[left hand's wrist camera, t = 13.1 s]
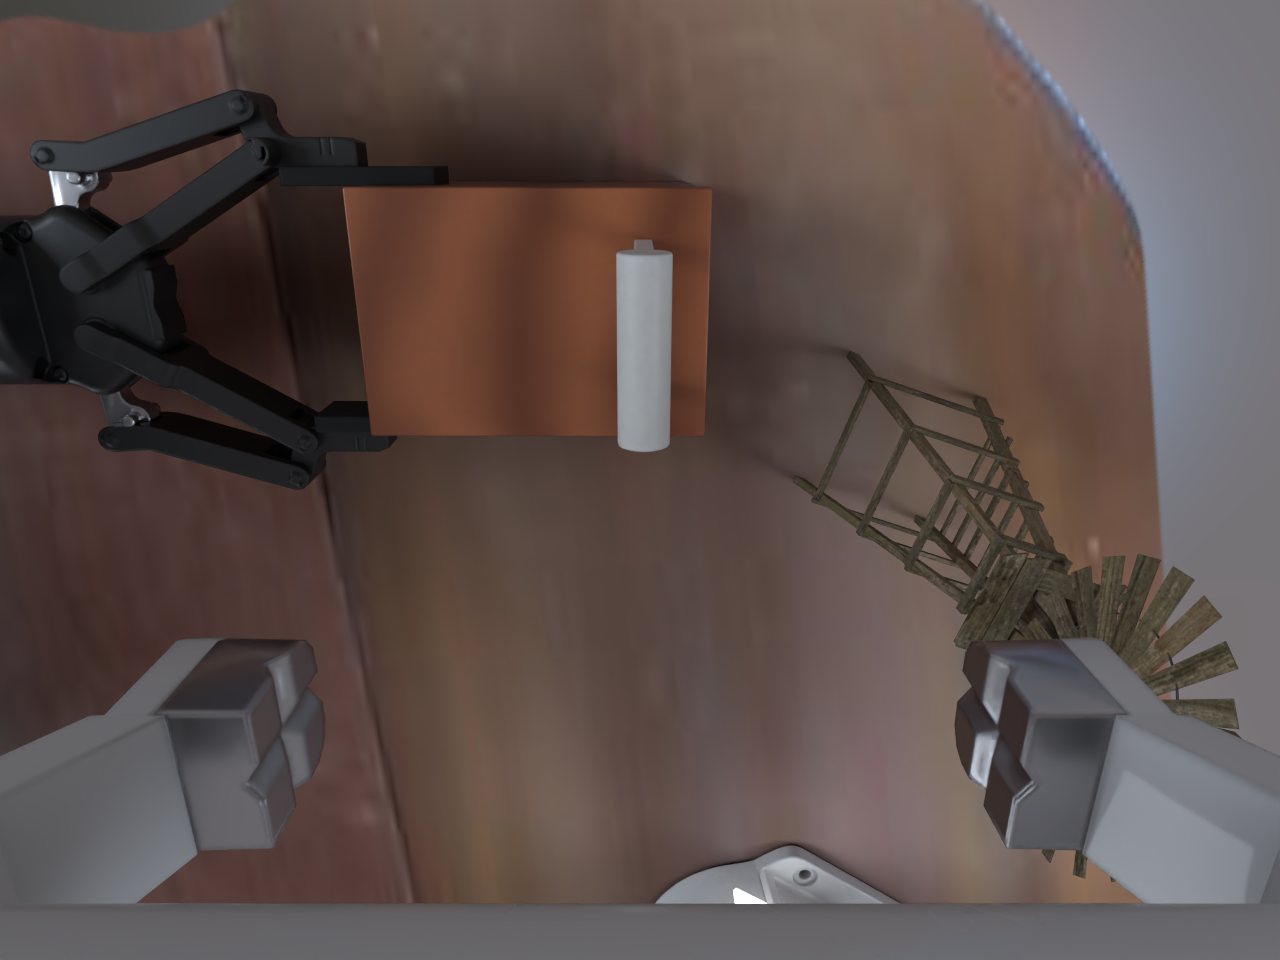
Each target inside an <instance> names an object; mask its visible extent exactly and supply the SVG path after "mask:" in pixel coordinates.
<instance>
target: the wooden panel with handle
mask: <svg viewBox="0 0 1280 960" xmlns="http://www.w3.org/2000/svg"><path fill="white" fill-rule="evenodd" d="M712 192H713V190H712V188H709V187H463V186H351V187H344V188H343V198H344V206H345V215H346V223H347V232H348V240H349V249H350V257H351V266H352V274H353V283H354V291H355V300H356V308H357V317H358V325H359V334H360V342H361V351H362V359H363V368H364V376H365V385H366V393H367V402H368V410H369V419H370V427H371V434H372V435H373V436H618V444H619V446H620V447H621V448H623V449H626V450H630V451H636V452H652V451H658V450H662V449H664V448H666V447H668V445H669V443H670V436H704V435H705V416H706V384H707V352H708V320H709V288H710V256H711V224H712Z"/></svg>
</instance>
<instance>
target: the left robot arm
mask: <svg viewBox="0 0 1280 960" xmlns="http://www.w3.org/2000/svg"><path fill="white" fill-rule="evenodd" d="M317 671H318V670H317V665H316V660H315V655H314V650H313V647H312V646H311V645H310V644H309V643H308V642H307V641H306V640H282V639H232V638H228V639H223V638H187V639H182V640H177V641H176V642H175V643H174V644H173V645H172V646H171V647H170V648H169V649H168V650H167V651H166V652H165V653H164V654H163V655H162V656H161V657H160V659H159V660H158V661H157V662H156V663H155V664H154V665H153V666H152V667H151V668H150V669H149V670H148V671H147V672H146V673H145V674H144V675H143V676H142V677H141V678H140V679H139V680H138V681H137V682H136V683H135V684H134V685H133V686H132V687H131V688H130V689H129V690H128V691H127V692H126V693H125V694H124V695H123V696H122V697H121V698H120V699H119V700H118V701H117V702H116V704H115V705H114V706H113V707H112V708H111V709H110V710H109V711H108V712H107V713H106V714H105V715H90V716H88V717H86V718H83V719H81V720H79V721H77V722H75V723H72V724H70V725H68V726H66V727H63V728H61V729H59V730H57V731H55V732H52V733H50V734H48V735H46V736H43V737H41V738H39V739H37V740H35V741H32V742H30V743H28V744H26V745H24V746H21V747H19V748H17V749H15V750H12V751H10V752H8V753H6V754H4V755H1V756H0V960H1280V756H1278V755H1276V754H1274V753H1272V752H1270V751H1267V750H1265V749H1263V748H1261V747H1258V746H1256V745H1254V744H1252V743H1250V742H1247V741H1245V740H1243V739H1241V738H1239V737H1236V736H1234V735H1232V734H1230V733H1228V732H1225V731H1223V730H1221V729H1219V728H1217V727H1214V726H1212V725H1210V724H1208V723H1205V722H1203V721H1201V720H1199V719H1197V718H1194V717H1192V716H1190V715H1175V714H1174V713H1173V712H1172V711H1171V710H1170V709H1169V708H1168V707H1167V705H1166V704H1165V703H1164V702H1163V701H1162V700H1161V699H1160V698H1159V697H1158V696H1157V695H1156V694H1155V693H1154V692H1153V691H1152V690H1151V689H1150V688H1149V687H1148V686H1147V685H1146V684H1145V683H1144V682H1143V681H1142V680H1141V679H1140V678H1139V677H1138V676H1137V675H1136V674H1135V673H1134V672H1133V671H1132V670H1131V669H1130V668H1129V667H1128V665H1127V664H1126V663H1125V662H1124V661H1123V660H1122V659H1121V658H1120V657H1119V656H1118V655H1117V654H1116V653H1115V652H1114V651H1113V650H1112V649H1111V648H1110V647H1109V646H1108V645H1107V644H1106V643H1105V642H1104V641H1101V640H1099V639H1096V638H1068V639H1038V640H998V641H971V642H970V645H969V647H968V649H967V651H966V653H965V659H964V665H963V670H962V671H963V673H964V674H965V676H966V677H967V679H968V681H969V682H970V684H971V686H972V687H971V688H970V689H969V690H968V691H967V692H966V693H965V694H964V695H963V696H962V697H961V698H960V699H959V701H958V702H957V709H956V717H955V735H956V746H957V750H958V754H959V757H960V760H961V764H962V766H963V767H964V769H965V771H966V773H967V775H968V777H969V779H970V780H972V781H973V782H975V783H976V784H978V785H979V786H981V787H982V788H984V789H985V790H986V794H985V800H984V807H985V809H986V811H987V813H988V815H989V817H990V818H991V820H992V822H993V824H994V826H995V828H996V830H997V831H998V833H999V835H1000V837H1001V839H1002V841H1003V842H1004V844H1005V846H1006V848H1013V849H1049V850H1083V852H1082V854H1083V855H1084V856H1086V857H1087V858H1088V859H1089V860H1091V861H1092V862H1093V863H1094V864H1096V865H1097V866H1098V867H1099V868H1101V869H1102V870H1103V871H1104V872H1106V873H1107V874H1108V875H1109V876H1111V877H1112V878H1113V879H1115V880H1116V881H1117V882H1118V883H1120V884H1121V885H1122V886H1123V887H1125V888H1126V889H1127V890H1128V891H1130V892H1131V893H1132V894H1133V895H1135V896H1136V897H1137V898H1139V899H1140V900H1141V901H1142V902H1144V903H929V904H901V903H899V902H897V901H895V900H894V899H892V898H890V897H888V896H886V895H885V894H883V893H881V892H879V891H877V890H876V889H874V888H872V887H870V886H869V885H867V884H865V883H863V882H861V881H860V880H858V879H856V878H854V877H853V876H851V875H849V874H847V873H845V872H844V871H842V870H840V869H838V868H837V867H835V866H833V865H831V864H829V863H828V862H826V861H824V860H822V859H821V858H819V857H817V856H815V855H813V854H812V853H810V852H808V851H806V850H804V849H803V848H801V847H798V846H793V845H791V846H784V847H781V848H778V849H775V850H773V851H771V852H769V853H767V854H765V855H763V856H761V857H759V858H757V859H755V860H752V861H748V862H743V863H737V864H730V865H723V866H718V867H714V868H710V869H707V870H704V871H701V872H698V873H696V874H693V875H691V876H689V877H687V878H685V879H683V880H682V881H680V882H678V883H677V884H675V885H674V886H672V887H671V888H670V889H669V890H667V891H666V892H665V893H664V894H663V895H662V896H661V897H660V898H659V899H658V900H657V901H656V903H655V904H405V903H404V904H403V903H137V902H138V901H139V900H140V899H142V898H143V897H144V896H146V895H147V894H148V893H149V892H151V891H152V890H153V889H154V888H156V887H157V886H158V885H159V884H161V883H162V882H163V881H164V880H166V879H167V878H168V877H170V876H171V875H172V874H173V873H175V872H176V871H177V870H178V869H180V868H181V867H182V866H183V865H185V864H186V863H187V862H189V861H190V860H191V859H192V858H194V857H195V856H196V855H197V854H198V852H197V850H230V849H265V848H274V846H275V844H276V843H277V841H278V839H279V837H280V835H281V833H282V831H283V830H284V828H285V826H286V824H287V822H288V820H289V819H290V817H291V815H292V813H293V811H294V809H295V807H296V800H295V794H294V790H295V789H296V788H298V787H299V786H301V785H302V784H304V783H305V782H307V781H308V780H310V779H311V777H312V775H313V773H314V771H315V769H316V767H317V765H318V763H319V761H320V757H321V753H322V748H323V744H324V739H325V715H324V708H323V702H322V701H321V699H320V698H319V697H318V696H317V695H316V694H315V693H314V692H313V691H312V690H311V689H310V688H309V687H308V686H309V684H310V682H311V681H312V679H313V677H314V676H315V674H316V673H317ZM802 870H805V871H802Z"/></svg>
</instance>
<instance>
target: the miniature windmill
mask: <svg viewBox="0 0 1280 960" xmlns="http://www.w3.org/2000/svg"><path fill="white" fill-rule="evenodd" d="M847 358H848V360H849V361H850V362H851V364H852V365H853V366H854V367H855V369H856V370H857V371H858V373H859V374H860V375H861V376H862V378H863V379H864V380H865V384H864V386H863V388H862V391H861V393H860V395H859V397H858V400H857V402H856V404H855V406H854V409H853V411H852V413H851V415H850V418H849V420H848V422H847V424H846V426H845V429H844V431H843V433H842V435H841V438H840V440H839V442H838V444H837V447H836V449H835V451H834V453H833V456H832V458H831V460H830V462H829V465H828V467H827V469H826V471H825V474H824V476H823V478H822V480H821V483H820V485H819V487H818V488H817V487H815V486H814V485H813V484H811V483H810V482H808V481H807V480H805V479H804V478H801V477H798V476H795V479H794V481H793V482H794V483H795V484H797V485H798V486H799V487H801V488H802V489H803V490H805V491H806V492H808V493H809V494H810V495H812V496H813V497H814V498H812V500H811V502H812V503H816V504H819V505H822V506H825V507H828V508H829V509H831V510H832V511H834V512H835V513H836V514H838V515H839V516H840V517H842V518H843V519H844V520H846V521H847V522H849V523H850V524H851V525H853V526H854V527H855V528H857V531H856V533H857V534H858V535H859V536H862V537H863V538H866V539H869V540H873V541H875V542H876V543H877V544H879V545H880V546H881V547H883V548H884V549H886V550H887V551H888V552H890V553H891V554H892V555H894V556H895V557H896V558H898V559H899V560H901V561H902V562H903V563H904V564H905V567H904V569H905V570H906V571H907V572H910V573H913V574H916V575H920V576H922V577H924V578H925V579H927V580H928V581H929V582H931V583H932V584H933V585H935V586H936V587H938V588H939V589H940V590H942V591H943V592H944V593H946V594H947V595H948V596H950V597H951V598H953V599H954V600H955V601H957V602H958V603H959V604H958V605H957V607H956V609H957V610H958V611H959V612H960V613H961V614H967V615H968V616H967V618H966V619H965V621H964V623H963V625H962V627H961V629H960V630H959V632H958V634H957V636H956V638H955V640H954V643H956V644H955V645H956V646H957V647H960V648H963V649H966V650H967V649H968V647H969V645H970V642H971V641H998V640H1038V639H1068V638H1096V639H1099V640H1101V641H1104V642H1105V643H1106V644H1107V645H1108V646H1109V647H1110V648H1111V649H1112V650H1113V651H1114V652H1115V653H1116V654H1117V655H1118V656H1119V657H1120V658H1121V659H1122V660H1123V661H1124V662H1125V663H1126V664H1127V665H1128V667H1129V668H1130V669H1131V670H1132V671H1133V672H1134V673H1135V674H1136V675H1137V676H1138V677H1139V678H1140V679H1141V680H1142V681H1143V682H1144V683H1145V684H1146V685H1147V686H1148V687H1149V688H1150V689H1151V690H1152V691H1153V692H1154V693H1155V694H1156V695H1157V696H1159V695H1162V694H1165V693H1168V692H1171V691H1174V690H1176V700H1162V701H1163V702H1164V703H1165V704H1166V705H1167V707H1168V708H1169V709H1170V710H1171V711H1172V712H1173V713H1174V714H1175V715H1190V716H1192V717H1194V718H1197V719H1199V720H1201V721H1203V722H1205V723H1208V724H1210V725H1212V726H1214V727H1221V728H1232V729H1239V725H1238V719H1237V713H1236V708H1235V701H1234V699H1188V700H1179V694H1178V689H1180V688H1183V687H1186V686H1189V685H1192V684H1195V683H1197V682H1201V681H1204V680H1206V679H1209V678H1212V677H1215V676H1218V675H1221V674H1224V673H1227V672H1230V671H1233V670H1236V669H1238V667H1237V665H1236V662H1235V660H1234V658H1233V656H1232V653H1231V651H1230V649H1229V647H1228V645H1227V642H1226V641H1225V642H1223V643H1220V644H1218V645H1216V646H1214V647H1212V648H1209V649H1207V650H1205V651H1203V652H1201V653H1199V654H1196V655H1194V656H1192V657H1190V658H1188V659H1186V660H1183V661H1181V662H1179V663H1177V664H1175V665H1173V662H1172V659H1171V658H1172V657H1173V656H1175V655H1176V654H1177V653H1178V652H1180V651H1181V650H1182V649H1183V648H1185V647H1186V646H1187V645H1188V644H1189V643H1191V642H1192V641H1193V640H1194V639H1196V638H1197V637H1198V636H1199V635H1201V634H1202V633H1203V632H1204V631H1206V630H1207V629H1208V628H1209V627H1211V626H1212V625H1213V624H1214V623H1215V622H1217V621H1218V620H1219V619H1220V618H1222V616H1221V615H1220V614H1219V613H1218V611H1217V610H1216V609H1215V608H1214V607H1213V605H1212V604H1211V603H1210V602H1209V601H1208V599H1207V598H1206V597H1205V596H1203V597H1202V598H1201V599H1200V600H1199V601H1198V602H1197V603H1196V604H1194V605H1193V606H1192V607H1191V608H1190V609H1189V610H1188V611H1187V612H1186V613H1185V614H1184V615H1183V616H1182V617H1181V618H1180V619H1179V620H1178V621H1177V622H1176V623H1175V624H1174V625H1173V626H1172V627H1171V628H1170V629H1168V630H1167V631H1166V632H1165V633H1164V634H1163V635H1162V636H1161V637H1159V635H1158V633H1159V631H1160V630H1161V628H1162V627H1163V625H1164V624H1165V622H1166V621H1167V620H1168V618H1169V617H1170V615H1171V614H1172V612H1173V611H1174V609H1175V608H1176V606H1177V605H1178V604H1179V602H1180V601H1181V599H1182V598H1183V596H1184V595H1185V593H1186V592H1187V591H1188V589H1189V588H1190V586H1191V585H1192V583H1193V582H1194V579H1193V578H1191V577H1189V576H1188V575H1186V574H1185V573H1183V572H1181V571H1180V570H1178V569H1177V568H1175V567H1172V569H1171V570H1170V572H1169V574H1168V576H1167V577H1166V579H1165V581H1164V582H1163V584H1162V586H1161V587H1160V589H1159V591H1158V592H1157V594H1156V596H1155V598H1154V599H1153V601H1152V603H1151V604H1150V606H1149V608H1148V609H1147V611H1146V613H1145V614H1144V616H1143V618H1142V620H1140V619H1139V617H1140V614H1141V611H1142V609H1143V606H1144V603H1145V601H1146V598H1147V595H1148V593H1149V590H1150V588H1151V585H1152V582H1153V580H1154V577H1155V574H1156V572H1157V569H1158V566H1159V564H1160V561H1161V560H1160V559H1156V558H1152V557H1148V556H1144V555H1140V554H1138V556H1137V559H1136V562H1135V565H1134V569H1133V572H1132V575H1131V578H1130V582H1129V585H1128V588H1127V586H1126V585H1121V583H1122V576H1123V569H1124V561H1125V556H1111V557H1103V563H1102V575H1101V585H1098V584H1095V583H1093V582H1092V571H1091V566H1089V567H1086V568H1083V569H1080V570H1077V571H1075V572H1072V573H1071V576H1070V575H1067V572H1068V571H1069V569H1070V567H1071V565H1072V562H1071V561H1070V560H1068V558H1067V557H1066V556H1065V555H1064V554H1061V553H1058V552H1057V551H1056V549H1055V547H1054V544H1053V543H1054V541H1053V538H1052V537H1051V536H1049V534H1048V531H1047V529H1046V527H1045V525H1044V523H1043V521H1042V518H1041V516H1040V514H1039V512H1038V511H1042V512H1043V510H1044V509H1045V507H1044V506H1043V505H1042V504H1041V503H1039V502H1036V501H1033V499H1032V497H1031V495H1030V492H1029V490H1028V488H1027V487H1028V486H1029V483H1028V482H1027V481H1025V480H1024V479H1023V477H1022V475H1021V473H1020V471H1019V469H1018V465H1019V462H1020V461H1019V460H1018V459H1016V458H1013V456H1012V453H1011V451H1010V449H1009V447H1010V445H1011V443H1012V441H1013V439H1012V438H1010V437H1007V438H1006V440H1005V438H1004V436H1003V434H1002V432H1001V430H1000V427H1001V426H999V425H998V424H1000V425H1003V423H1004V420H1003V419H1000V418H997V417H994V415H993V412H992V410H991V408H990V406H989V404H988V402H987V399H986V398H983V397H980V396H977V395H976V396H975V398H974V400H973V403H974V405H975V407H976V409H977V411H976V410H973V409H970V408H968V407H965V406H962V405H959V404H956V403H953V402H950V401H947V400H944V399H941V398H938V397H936V396H933V395H930V394H927V393H924V392H921V391H918V390H915V389H912V388H909V387H906V386H904V385H901V384H898V383H895V382H892V381H889V380H886V379H883V378H880V377H877V376H876V375H875V374H874V373H873V372H872V370H871V369H870V368H869V366H868V365H867V364H866V363H865V361H864V360H863V359H862V358H861V356H860V355H859V354H856V353H853V352H851V351H850V353H849V354H848V356H847ZM884 385H886V386H889V387H892V388H895V389H898V390H901V391H904V392H907V393H910V394H912V395H915V396H918V397H921V398H924V399H927V400H930V401H933V402H936V403H939V404H942V405H945V406H947V407H950V408H953V409H956V410H959V411H962V412H965V413H968V414H971V415H974V416H977V417H980V419H981V421H982V423H983V425H984V428H985V430H986V432H987V435H988V439H987V441H986V443H985V445H984V447H983V448H982V447H979V446H976V445H973V444H970V443H967V442H964V441H961V440H958V439H955V438H952V437H949V436H946V435H943V434H940V433H937V432H934V431H932V430H929V429H926V428H923V427H920V426H917V425H915V424H914V423H913V422H912V421H911V419H910V418H909V417H908V416H907V414H906V413H905V412H904V410H903V409H902V408H901V407H900V405H899V404H898V403H897V402H896V400H895V399H894V398H893V397H892V395H891V394H890V393H889V392H888V390H887V389H886V388H885V387H884ZM870 388H871V389H872V391H873V392H874V393H875V394H876V396H877V397H878V398H879V400H880V401H881V402H882V403H883V405H884V406H885V407H886V409H887V410H888V411H889V412H890V414H891V415H892V416H893V418H894V419H895V420H896V421H897V423H898V424H899V425H900V427H901V428H902V429H903V430H904V432H903V434H902V436H901V438H900V440H899V442H898V444H897V446H896V449H895V451H894V453H893V455H892V457H891V459H890V461H889V463H888V465H887V468H886V470H885V472H884V474H883V476H882V478H881V480H880V482H879V485H878V487H877V489H876V491H875V493H874V495H873V497H872V499H871V501H870V504H869V506H868V508H867V510H866V512H865V514H862V513H859V512H855V511H852V510H849V509H847V508H845V507H844V506H842V505H841V504H839V503H838V502H837V501H835V500H834V499H832V498H831V497H830V496H828V495H827V494H825V493H824V491H825V488H826V486H827V484H828V482H829V479H830V477H831V475H832V473H833V471H834V468H835V466H836V464H837V462H838V459H839V457H840V455H841V453H842V451H843V448H844V446H845V444H846V442H847V439H848V437H849V435H850V433H851V431H852V428H853V426H854V424H855V422H856V419H857V417H858V415H859V413H860V411H861V408H862V406H863V404H864V402H865V399H866V397H867V395H868V393H869V391H870ZM923 435H926V436H929V437H932V438H935V439H938V440H941V441H944V442H947V443H950V444H953V445H956V446H959V447H962V448H964V449H967V450H970V451H973V452H976V453H979V454H980V455H979V457H978V458H977V460H976V462H975V464H974V466H973V468H972V470H971V472H970V474H969V476H968V478H967V479H966V478H963V477H960V476H957V475H954V473H953V472H952V471H951V470H950V468H949V467H948V466H947V465H946V463H945V462H944V461H943V460H942V458H941V457H940V456H939V454H938V453H937V452H936V451H935V449H934V448H933V447H932V446H931V444H930V443H929V442H928V441H927V439H926V438H925V437H924V436H923ZM909 438H910V439H911V441H912V442H913V443H914V445H915V446H916V447H917V448H918V450H919V451H920V452H921V454H922V455H923V456H924V457H925V459H926V460H927V461H928V463H929V464H930V465H931V466H932V468H933V469H934V470H935V472H936V473H937V474H938V475H939V477H940V478H941V479H942V481H943V482H944V485H943V487H942V489H941V491H940V493H939V495H938V497H937V499H936V501H935V503H934V505H933V507H932V509H931V511H930V513H929V515H928V517H927V519H926V518H924V517H921V516H918V515H916V516H915V519H914V522H915V523H916V524H917V525H918V526H919V527H920V528H921V531H920V532H918V531H914V530H911V529H908V528H905V527H902V526H899V525H896V524H893V523H890V522H887V521H883V520H880V519H877V518H874V517H872V516H873V514H874V512H875V510H876V507H877V505H878V503H879V501H880V499H881V497H882V495H883V493H884V491H885V489H886V487H887V484H888V482H889V480H890V478H891V476H892V474H893V472H894V470H895V468H896V466H897V463H898V461H899V459H900V457H901V455H902V453H903V451H904V449H905V447H906V445H907V443H908V440H909ZM991 444H992V446H993V448H994V451H995V452H994V451H991V450H989V448H990V446H991ZM985 456H988V457H991V458H994V459H995V461H994V463H993V465H992V467H991V469H990V471H989V473H988V475H987V477H986V478H985V480H984V482H983V484H981V483H978V482H975V481H973V479H974V477H975V475H976V473H977V471H978V470H979V468H980V466H981V464H982V462H983V460H984V458H985ZM1000 464H1001V467H1002V469H1003V471H1004V474H1005V476H1004V478H1003V480H1002V482H1001V483H1000V485H999V487H998V489H996V488H993V487H990V486H989V485H990V483H991V481H992V479H993V477H994V475H995V473H996V471H997V469H998V468H999V466H1000ZM1008 483H1009V485H1010V487H1011V490H1012V492H1013V494H1011V493H1008V492H1005V489H1006V487H1007V485H1008ZM969 488H972V489H975V490H978V491H979V492H978V494H977V496H976V498H975V500H974V498H973V497H972V496H971V495H970V493H969V492H968V489H969ZM951 492H952V493H953V495H954V496H955V497H956V498H957V499H956V501H955V503H954V505H953V507H952V509H951V511H950V513H949V515H948V517H947V519H946V521H945V523H944V525H943V527H942V529H941V531H939V530H938V529H936V528H935V527H934V524H935V522H936V520H937V518H938V516H939V514H940V512H941V510H942V508H943V506H944V504H945V502H946V500H947V498H948V497H949V495H950V493H951ZM985 493H987V494H990V495H993V496H994V497H993V499H992V501H991V503H990V505H989V507H988V509H987V511H986V513H985V512H984V511H983V510H982V509H981V507H980V506H979V504H980V502H981V500H982V498H983V496H984V494H985ZM815 498H816V499H815ZM1001 498H1002V499H1005V500H1008V501H1011V504H1010V506H1009V508H1008V509H1007V511H1006V513H1005V515H1004V517H1003V519H1002V521H1001V523H1000V525H999V527H998V529H997V527H996V526H995V525H994V524H993V522H992V521H991V520H990V518H991V516H992V514H993V512H994V510H995V508H996V506H997V504H998V502H999V501H1000V499H1001ZM960 504H961V505H962V506H963V507H964V509H965V510H966V511H967V515H966V517H965V519H964V521H963V523H962V525H961V527H960V528H959V530H958V532H957V534H956V536H955V538H954V540H953V542H952V543H951V542H950V541H949V540H948V539H947V538H946V537H945V534H946V532H947V530H948V528H949V526H950V524H951V522H952V520H953V518H954V516H955V514H956V512H957V510H958V508H959V506H960ZM1018 506H1019V508H1020V510H1021V513H1022V515H1023V517H1024V519H1025V520H1024V522H1023V524H1022V526H1021V528H1020V530H1019V532H1018V534H1017V535H1016V537H1015V538H1012V537H1009V536H1006V535H1003V533H1004V531H1005V529H1006V527H1007V526H1008V524H1009V522H1010V520H1011V518H1012V516H1013V514H1014V512H1015V510H1016V508H1017V507H1018ZM861 518H862V519H861ZM971 519H973V520H974V522H975V523H976V524H977V525H978V528H977V530H976V532H975V534H974V536H973V538H972V540H971V542H970V544H969V546H968V548H967V550H966V551H965V553H964V554H963V553H962V552H961V551H959V550H958V549H957V546H958V544H959V542H960V540H961V538H962V536H963V534H964V532H965V531H966V529H967V527H968V525H969V523H970V521H971ZM870 521H872V522H875V523H878V524H881V525H884V526H887V527H890V528H893V529H896V530H900V531H903V532H906V533H909V534H912V535H915V536H918V537H917V539H916V541H915V543H914V545H913V547H909V546H906V545H903V544H899V543H896V542H893V541H892V540H890V539H889V538H888V537H886V536H885V535H883V534H882V533H881V532H879V531H878V530H876V529H875V528H873V527H872V526H871V525H869V522H870ZM1028 530H1029V531H1030V533H1031V535H1032V538H1033V540H1034V542H1035V545H1034V544H1031V543H1027V542H1024V541H1023V540H1024V538H1025V536H1026V534H1027V532H1028ZM982 533H984V534H985V536H986V537H987V538H988V540H989V541H990V544H989V546H988V548H987V550H986V552H985V554H984V556H983V557H982V559H981V561H980V563H979V565H978V567H976V566H975V565H974V564H973V563H972V562H971V561H970V560H969V558H970V556H971V555H972V553H973V551H974V549H975V547H976V545H977V543H978V541H979V539H980V537H981V535H982ZM927 539H928V540H931V541H934V542H935V543H936V544H937V545H938V546H939V547H940V548H941V549H942V550H943V551H944V552H945V553H946V554H947V555H948V556H949V557H950V558H951V559H952V560H950V559H946V558H943V557H940V556H937V555H934V554H931V553H928V552H925V551H921V550H922V548H923V546H924V544H925V542H926V540H927ZM1018 549H1021V550H1024V551H1027V552H1030V553H1033V554H1036V557H1035V558H1027V556H1028V555H1029V554H1028V553H1017V551H1018ZM998 554H1000V557H999V559H998V561H997V563H996V565H995V566H994V568H993V570H992V572H991V574H990V576H989V577H987V574H988V572H989V570H990V568H991V567H992V565H993V563H994V561H995V559H996V557H997V556H998ZM919 555H920V556H923V557H926V558H929V559H932V560H935V561H938V562H942V563H945V564H948V565H951V566H954V567H957V568H960V569H962V570H963V571H964V572H965V573H966V574H967V575H968V576H969V577H970V578H971V581H970V583H969V585H968V584H965V583H962V582H959V581H956V580H953V579H949V578H946V577H943V576H941V575H940V574H939V573H937V572H936V571H934V570H933V569H931V568H930V567H929V566H927V565H926V564H924V563H923V562H922V561H920V560H919V559H917V558H918V556H919ZM960 588H961V589H964V590H966V591H965V592H964V591H963V590H961V589H960ZM1126 589H1127V591H1126V593H1124V592H1125V590H1126ZM976 594H979V596H978V597H977V599H976V600H975V599H974V598H975V596H976ZM1032 596H1033V597H1034V598H1033V597H1032ZM1122 602H1123V604H1122V607H1121V610H1120V613H1118V607H1119V606H1120V605H1121V603H1122ZM1117 614H1119V617H1118V620H1117ZM1116 620H1117V623H1116ZM1138 621H1140V623H1139V625H1138V626H1137V628H1136V630H1135V627H1136V625H1137V622H1138ZM1134 630H1135V631H1134ZM1021 631H1022V632H1021ZM1156 636H1157V638H1158V640H1157V641H1156V642H1155V643H1154V644H1153V645H1152V646H1151V647H1150V648H1149V649H1148V647H1149V646H1150V644H1151V643H1152V641H1153V640H1154V638H1155V637H1156ZM1147 649H1148V650H1147ZM1146 650H1147V651H1146ZM1145 651H1146V652H1145ZM1168 660H1170V663H1171V666H1170V667H1168V668H1166V669H1164V670H1161V671H1159V672H1157V673H1155V674H1153V675H1151V674H1152V673H1154V672H1155V671H1156V670H1157V669H1159V668H1160V667H1161V666H1162V665H1164V664H1165V663H1166V662H1167V661H1168ZM1150 675H1151V676H1150ZM1219 729H1220V728H1219ZM1221 730H1223V731H1225V732H1228V733H1230V734H1232V735H1234V736H1236V737H1239V738H1241V737H1240V736H1239V735H1238V734H1236V733H1235V732H1233V731H1229V730H1225V729H1221ZM1241 739H1242V738H1241ZM1054 851H1055V850H1049V849H1043V850H1042V853H1043V855H1044V856H1045V857H1046V859H1047V860H1048V861H1049V863H1051V860H1052V857H1053V854H1054ZM1082 852H1083V850H1076V855H1075V863H1074V871H1073V875H1076V876H1079V877H1081V878H1084V879H1085V875H1086V865H1087V857H1086V856H1084V855H1083V854H1082ZM1114 881H1116V880H1115V879H1113V878H1112V877H1111V882H1114Z"/></svg>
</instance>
